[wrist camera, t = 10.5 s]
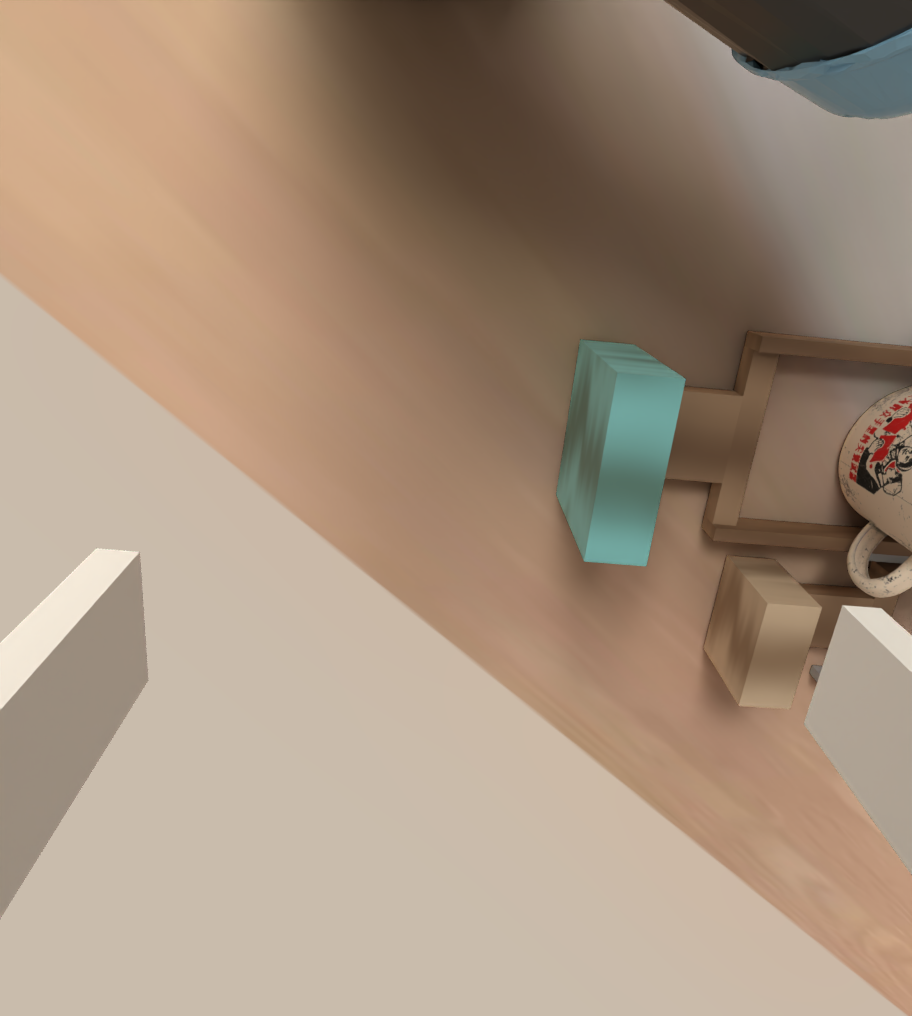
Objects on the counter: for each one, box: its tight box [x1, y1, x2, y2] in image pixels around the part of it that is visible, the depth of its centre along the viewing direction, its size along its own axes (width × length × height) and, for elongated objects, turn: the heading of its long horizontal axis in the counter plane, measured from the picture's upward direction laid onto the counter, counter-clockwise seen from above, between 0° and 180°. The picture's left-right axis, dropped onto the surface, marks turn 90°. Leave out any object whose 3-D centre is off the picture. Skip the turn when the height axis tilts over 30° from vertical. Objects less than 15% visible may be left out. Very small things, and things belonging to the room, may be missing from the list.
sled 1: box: [556, 331, 912, 566], centre depth 38 cm, size 12×26×9 cm, turn 85°
